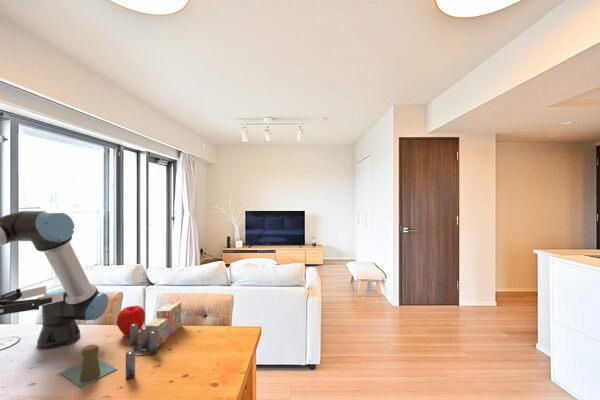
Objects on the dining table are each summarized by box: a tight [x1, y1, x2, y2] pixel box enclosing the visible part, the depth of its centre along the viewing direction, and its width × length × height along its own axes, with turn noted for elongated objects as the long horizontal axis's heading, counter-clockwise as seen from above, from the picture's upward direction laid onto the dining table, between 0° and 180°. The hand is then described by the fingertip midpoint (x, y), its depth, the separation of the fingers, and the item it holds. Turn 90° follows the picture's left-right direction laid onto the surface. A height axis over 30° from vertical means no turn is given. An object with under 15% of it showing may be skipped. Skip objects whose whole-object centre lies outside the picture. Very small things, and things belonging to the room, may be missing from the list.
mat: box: [59, 358, 118, 388], centre depth 109 cm, size 16×12×1 cm
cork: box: [80, 344, 100, 382], centre depth 106 cm, size 6×6×11 cm
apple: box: [116, 305, 146, 337], centre depth 139 cm, size 12×12×13 cm
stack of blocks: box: [144, 301, 182, 345], centre depth 139 cm, size 21×6×12 cm, turn 176°
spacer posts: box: [125, 323, 158, 381], centre depth 118 cm, size 25×18×9 cm
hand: (54, 292), depth 102 cm, fingers open, 13 cm apart
